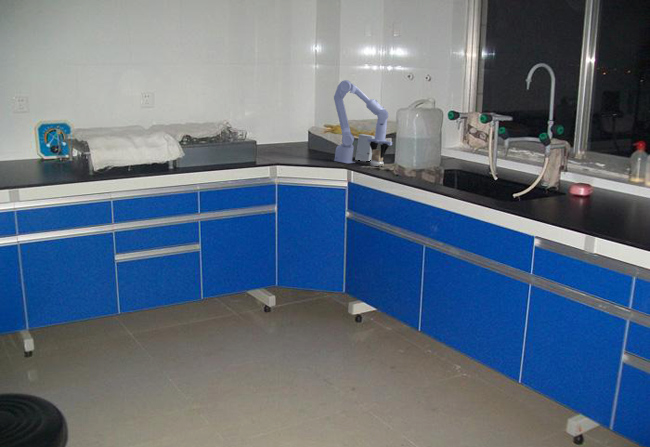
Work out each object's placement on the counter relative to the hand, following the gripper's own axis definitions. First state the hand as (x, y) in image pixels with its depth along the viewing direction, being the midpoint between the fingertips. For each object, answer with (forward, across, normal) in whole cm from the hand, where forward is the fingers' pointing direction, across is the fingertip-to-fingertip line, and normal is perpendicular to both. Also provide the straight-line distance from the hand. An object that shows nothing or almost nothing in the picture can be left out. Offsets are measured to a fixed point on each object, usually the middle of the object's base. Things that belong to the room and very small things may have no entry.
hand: (377, 156), depth 371 cm
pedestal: (+5, 0, 0) cm, 5 cm away
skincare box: (+5, -15, +10) cm, 19 cm away
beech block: (+2, 0, 0) cm, 2 cm away
